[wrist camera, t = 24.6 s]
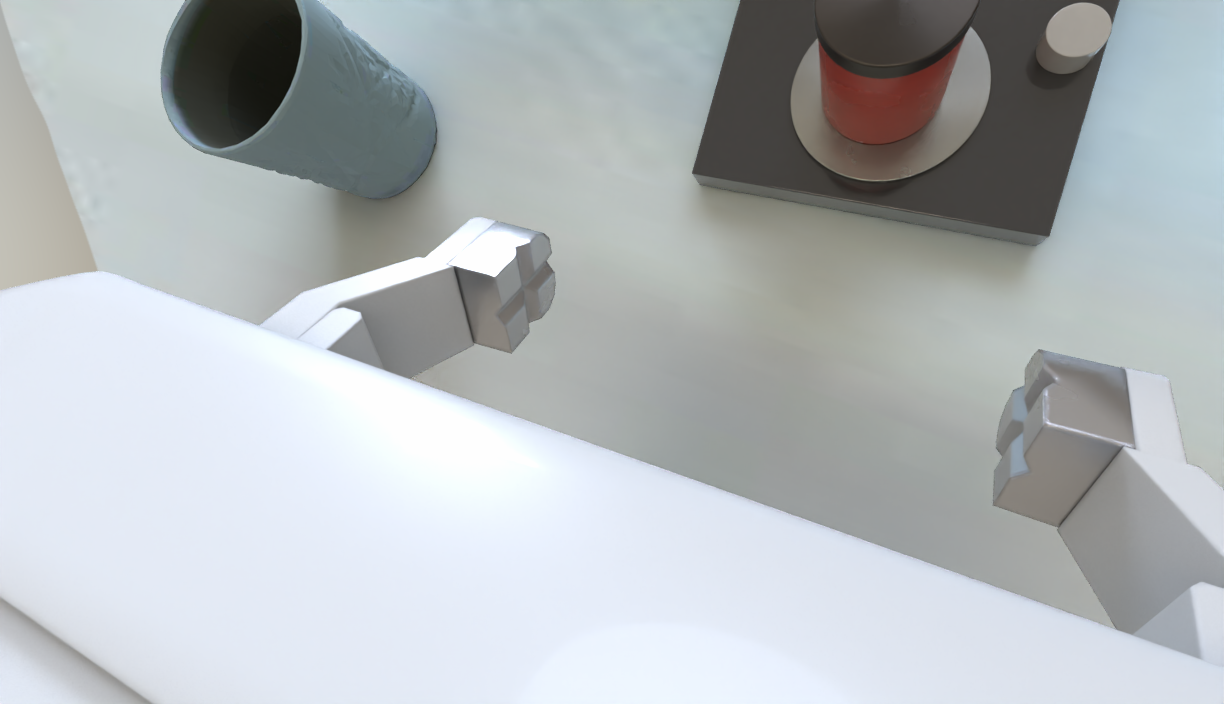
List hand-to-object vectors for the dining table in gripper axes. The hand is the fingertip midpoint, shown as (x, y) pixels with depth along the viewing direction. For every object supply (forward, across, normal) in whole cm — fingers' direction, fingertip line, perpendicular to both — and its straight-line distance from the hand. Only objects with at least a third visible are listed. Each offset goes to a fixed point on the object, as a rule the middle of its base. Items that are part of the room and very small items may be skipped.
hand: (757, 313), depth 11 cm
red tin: (+25, +1, +5) cm, 26 cm away
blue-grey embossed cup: (+22, +31, +12) cm, 40 cm away
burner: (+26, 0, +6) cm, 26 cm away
